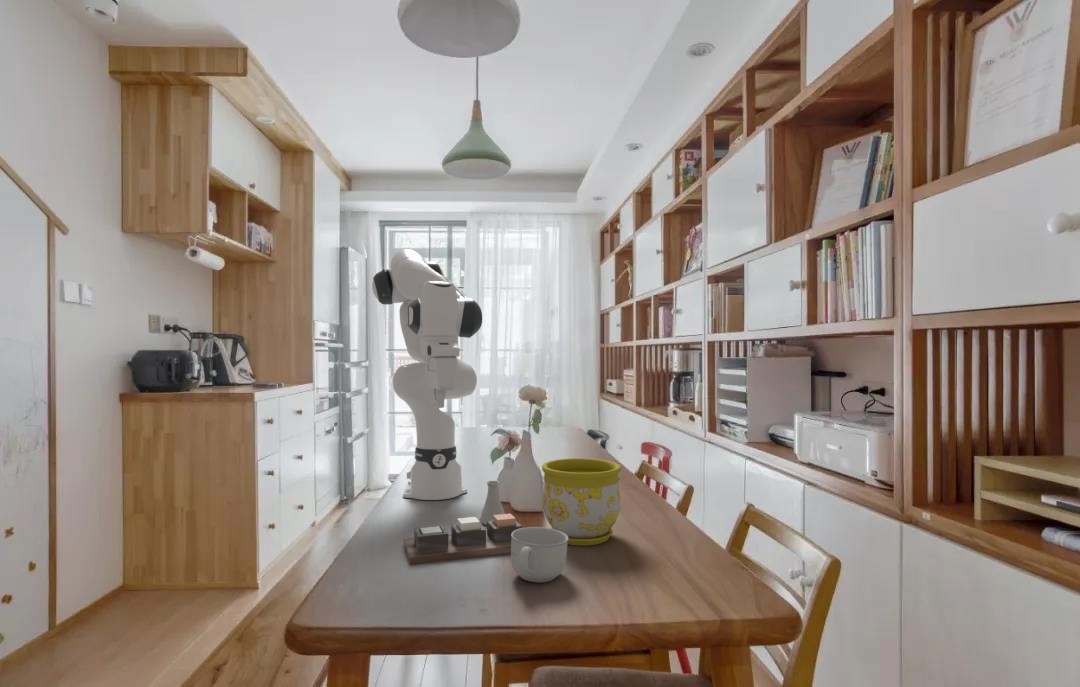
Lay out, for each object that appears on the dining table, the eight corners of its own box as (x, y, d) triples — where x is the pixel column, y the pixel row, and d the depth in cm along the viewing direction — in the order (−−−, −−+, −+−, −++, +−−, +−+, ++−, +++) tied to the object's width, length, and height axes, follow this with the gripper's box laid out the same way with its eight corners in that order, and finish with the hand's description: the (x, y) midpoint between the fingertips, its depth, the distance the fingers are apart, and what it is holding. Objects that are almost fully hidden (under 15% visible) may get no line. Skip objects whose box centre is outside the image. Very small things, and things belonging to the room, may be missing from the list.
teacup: (530, 562, 118) (530, 522, 118) (578, 573, 112) (578, 531, 112) (489, 586, 106) (489, 541, 106) (541, 599, 100) (541, 552, 100)
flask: (503, 527, 141) (503, 485, 141) (474, 525, 143) (474, 484, 143) (510, 518, 148) (510, 479, 148) (483, 517, 150) (483, 478, 150)
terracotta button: (493, 524, 130) (493, 515, 130) (510, 522, 131) (510, 513, 131) (497, 529, 126) (497, 520, 126) (515, 527, 128) (515, 518, 128)
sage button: (420, 537, 125) (420, 528, 125) (439, 535, 126) (439, 526, 126) (422, 543, 121) (423, 533, 121) (442, 541, 122) (442, 531, 122)
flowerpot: (527, 542, 130) (527, 468, 130) (562, 521, 146) (562, 455, 146) (603, 555, 122) (603, 476, 122) (631, 532, 138) (631, 462, 138)
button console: (403, 545, 127) (403, 525, 127) (517, 533, 136) (517, 514, 136) (410, 564, 116) (410, 542, 116) (534, 550, 125) (534, 529, 125)
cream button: (457, 527, 127) (457, 518, 127) (475, 525, 129) (475, 516, 129) (461, 533, 124) (461, 523, 124) (479, 531, 125) (479, 521, 125)
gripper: (419, 349, 147) (419, 404, 147) (432, 348, 128) (432, 412, 128) (444, 349, 149) (444, 403, 149) (461, 348, 130) (461, 411, 130)
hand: (439, 407), depth 138 cm, fingers closed
